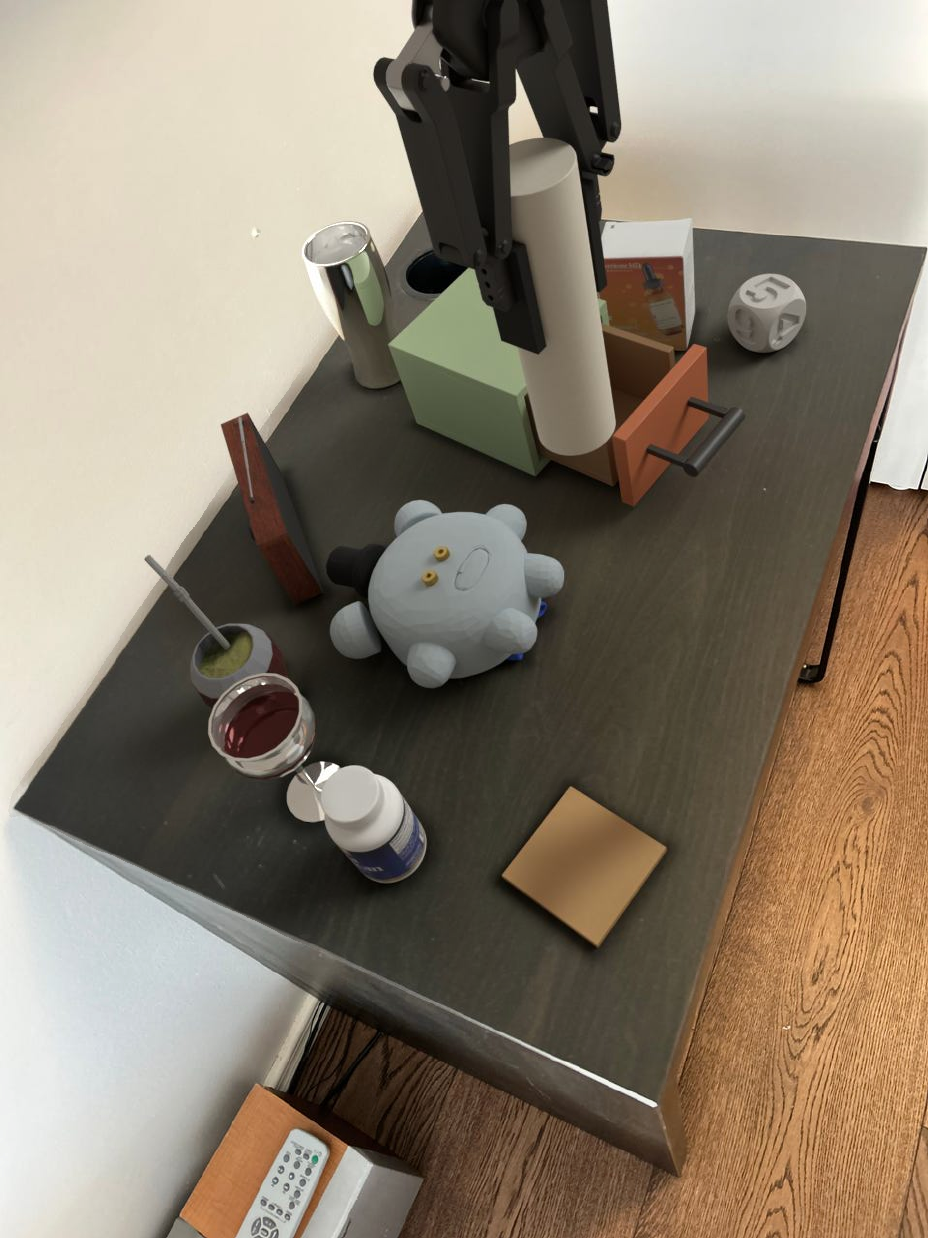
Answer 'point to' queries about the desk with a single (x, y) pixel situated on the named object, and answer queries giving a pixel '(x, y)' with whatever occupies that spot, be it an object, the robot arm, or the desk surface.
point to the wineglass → (271, 738)
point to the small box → (650, 279)
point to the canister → (561, 300)
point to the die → (766, 313)
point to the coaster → (584, 865)
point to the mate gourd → (225, 650)
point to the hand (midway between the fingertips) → (554, 311)
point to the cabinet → (468, 376)
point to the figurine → (445, 592)
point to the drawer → (650, 415)
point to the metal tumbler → (355, 297)
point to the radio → (270, 510)
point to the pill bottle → (372, 824)
